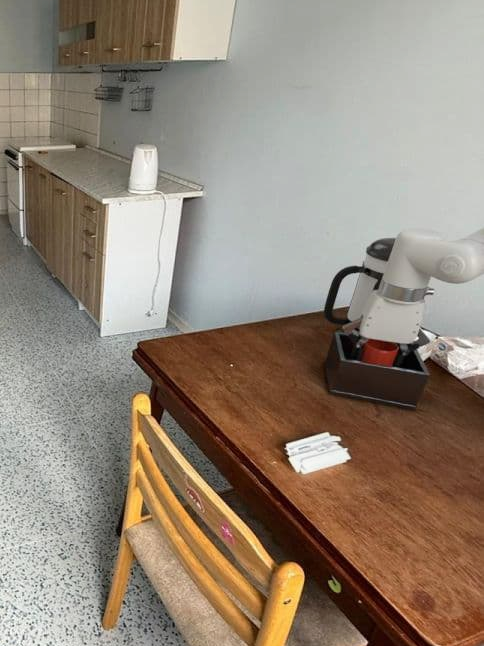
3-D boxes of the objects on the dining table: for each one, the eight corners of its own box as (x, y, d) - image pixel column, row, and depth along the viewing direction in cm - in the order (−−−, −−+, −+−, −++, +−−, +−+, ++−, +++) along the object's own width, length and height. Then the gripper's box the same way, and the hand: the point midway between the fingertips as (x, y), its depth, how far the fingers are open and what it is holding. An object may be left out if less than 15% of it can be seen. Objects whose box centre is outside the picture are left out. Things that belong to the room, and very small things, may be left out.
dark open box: (400, 376, 110) (414, 343, 106) (414, 410, 99) (430, 374, 95) (324, 363, 116) (334, 331, 112) (329, 393, 105) (341, 359, 101)
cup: (383, 370, 108) (395, 340, 104) (389, 385, 103) (401, 354, 99) (351, 364, 110) (361, 335, 106) (355, 379, 105) (366, 348, 101)
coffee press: (349, 322, 135) (382, 218, 120) (412, 345, 122) (457, 232, 108) (313, 339, 127) (345, 230, 113) (377, 365, 115) (421, 247, 100)
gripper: (448, 289, 96) (416, 363, 105) (349, 278, 103) (327, 348, 111) (459, 304, 90) (425, 381, 99) (354, 291, 97) (330, 364, 105)
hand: (373, 363), depth 105 cm, fingers closed on cup, 6 cm apart
